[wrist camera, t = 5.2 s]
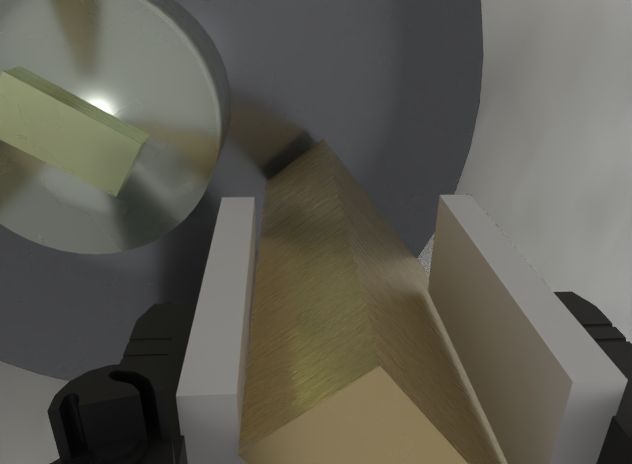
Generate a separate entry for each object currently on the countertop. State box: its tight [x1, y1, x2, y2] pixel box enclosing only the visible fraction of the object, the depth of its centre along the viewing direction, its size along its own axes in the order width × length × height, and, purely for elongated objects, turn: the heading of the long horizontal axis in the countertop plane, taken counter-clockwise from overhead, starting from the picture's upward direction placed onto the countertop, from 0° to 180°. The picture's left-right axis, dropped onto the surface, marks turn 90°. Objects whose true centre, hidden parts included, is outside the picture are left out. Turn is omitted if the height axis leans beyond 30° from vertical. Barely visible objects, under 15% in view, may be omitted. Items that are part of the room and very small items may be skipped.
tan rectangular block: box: [238, 138, 508, 464], centre depth 12 cm, size 6×2×10 cm, turn 37°
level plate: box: [0, 0, 483, 381], centre depth 14 cm, size 21×21×5 cm
